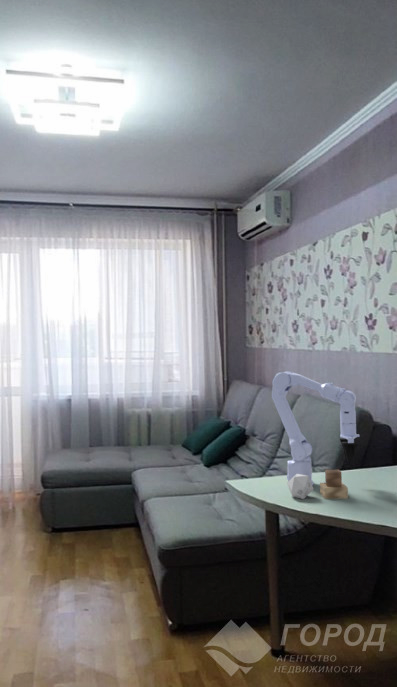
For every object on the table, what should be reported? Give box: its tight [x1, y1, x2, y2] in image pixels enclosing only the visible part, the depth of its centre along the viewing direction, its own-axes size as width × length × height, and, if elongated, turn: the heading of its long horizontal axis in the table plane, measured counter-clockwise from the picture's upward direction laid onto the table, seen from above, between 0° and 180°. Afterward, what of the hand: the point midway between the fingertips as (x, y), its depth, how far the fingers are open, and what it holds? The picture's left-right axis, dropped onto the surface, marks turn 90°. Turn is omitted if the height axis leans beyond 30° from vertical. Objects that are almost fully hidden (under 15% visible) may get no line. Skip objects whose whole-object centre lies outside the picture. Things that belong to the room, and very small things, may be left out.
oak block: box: [319, 482, 349, 500], centre depth 202 cm, size 8×8×4 cm
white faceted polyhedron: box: [286, 474, 314, 500], centre depth 201 cm, size 8×9×10 cm
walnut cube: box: [324, 469, 343, 487], centre depth 202 cm, size 5×5×5 cm
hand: (349, 459), depth 214 cm, fingers open, 7 cm apart
